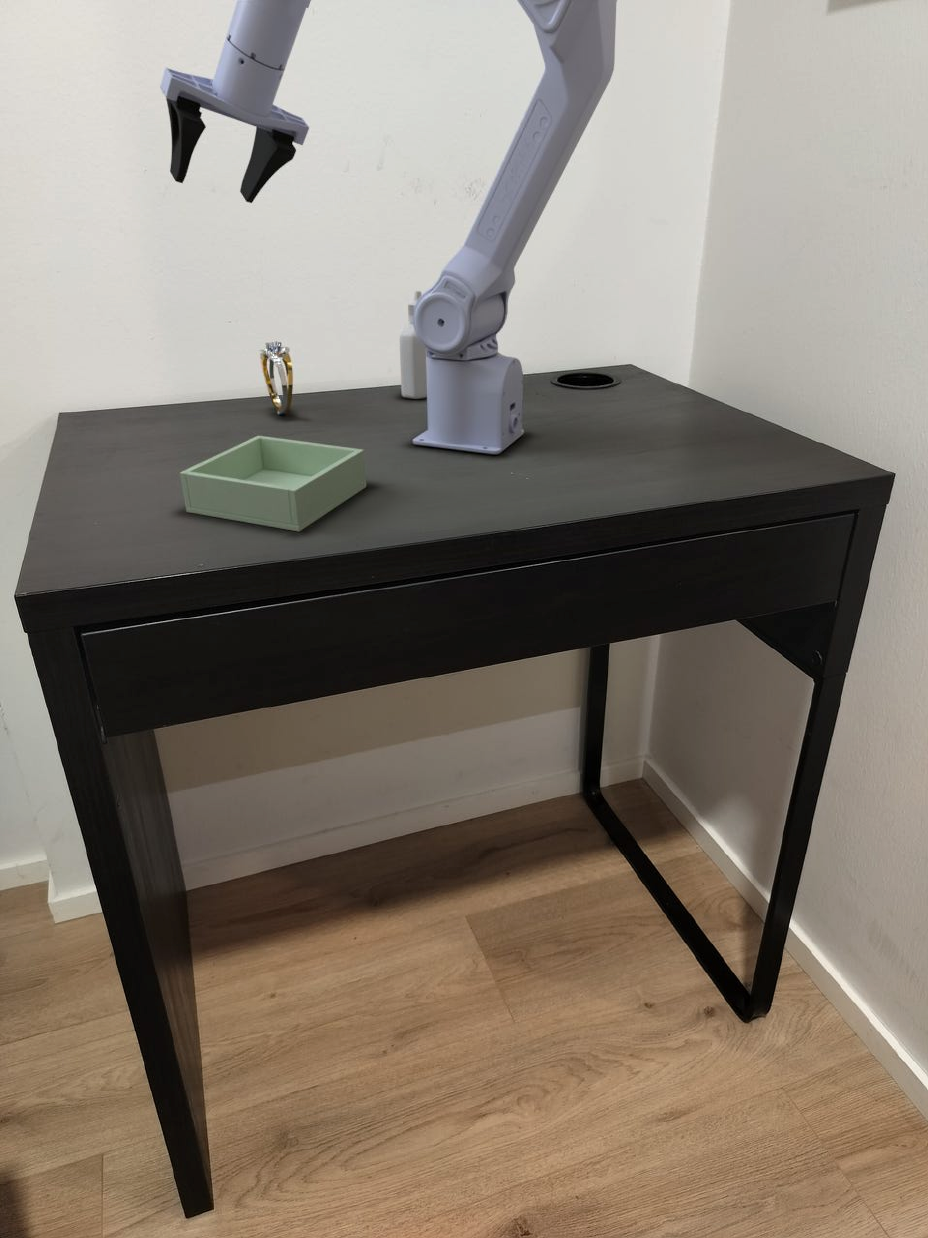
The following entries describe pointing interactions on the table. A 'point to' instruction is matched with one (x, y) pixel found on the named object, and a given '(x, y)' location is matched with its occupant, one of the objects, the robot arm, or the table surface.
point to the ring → (287, 386)
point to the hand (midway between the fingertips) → (212, 187)
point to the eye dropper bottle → (412, 359)
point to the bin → (274, 482)
